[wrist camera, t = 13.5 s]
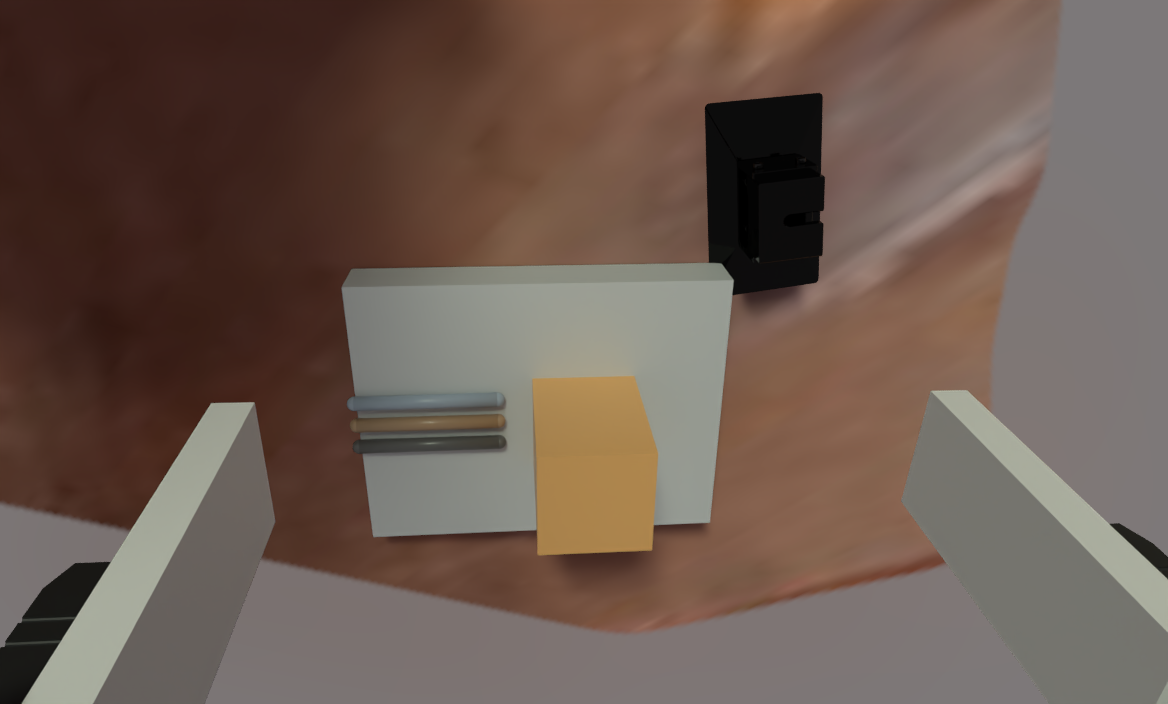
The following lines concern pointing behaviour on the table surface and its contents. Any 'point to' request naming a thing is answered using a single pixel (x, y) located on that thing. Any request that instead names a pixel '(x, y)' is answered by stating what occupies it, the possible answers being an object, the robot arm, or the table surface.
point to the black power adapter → (765, 190)
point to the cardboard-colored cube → (592, 466)
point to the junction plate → (525, 381)
